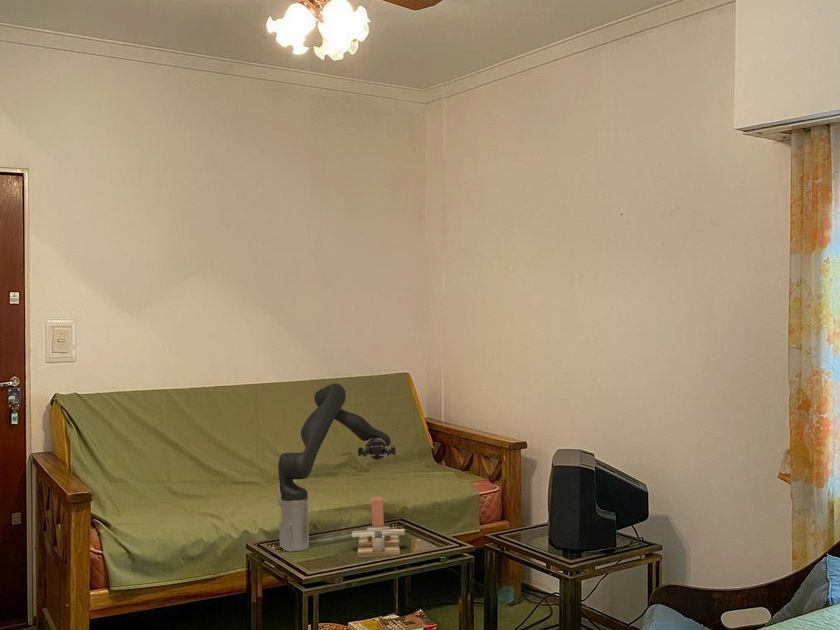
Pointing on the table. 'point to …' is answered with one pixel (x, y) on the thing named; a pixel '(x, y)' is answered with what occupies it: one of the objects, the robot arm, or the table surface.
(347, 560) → the table surface
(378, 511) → the terracotta rectangular block
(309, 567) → the table surface
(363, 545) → the jig
